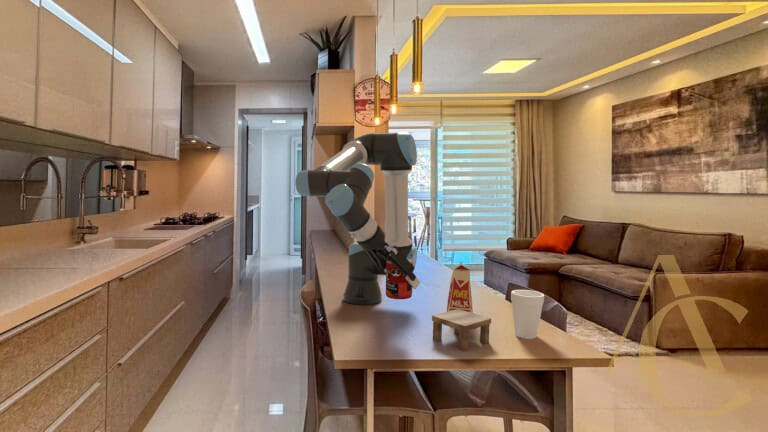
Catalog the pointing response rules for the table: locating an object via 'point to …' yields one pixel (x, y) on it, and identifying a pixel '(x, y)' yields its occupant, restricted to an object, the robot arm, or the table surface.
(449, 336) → the table surface
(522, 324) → the foam cup
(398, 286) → the canned food
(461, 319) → the stool
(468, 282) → the milk carton
